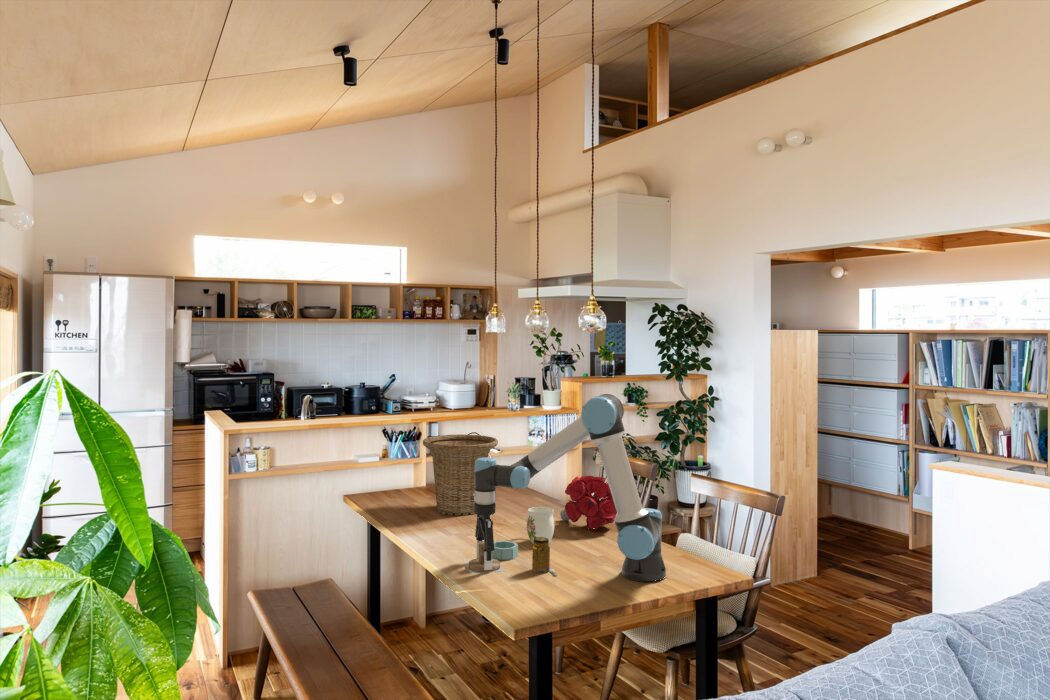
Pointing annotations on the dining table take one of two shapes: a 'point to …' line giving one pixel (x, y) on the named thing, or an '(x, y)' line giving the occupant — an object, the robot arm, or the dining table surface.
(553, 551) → the dining table surface
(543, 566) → the condiment
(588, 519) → the bouquet
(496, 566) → the lid
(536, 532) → the pitcher
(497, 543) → the bowl
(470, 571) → the mat
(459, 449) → the wicker basket
